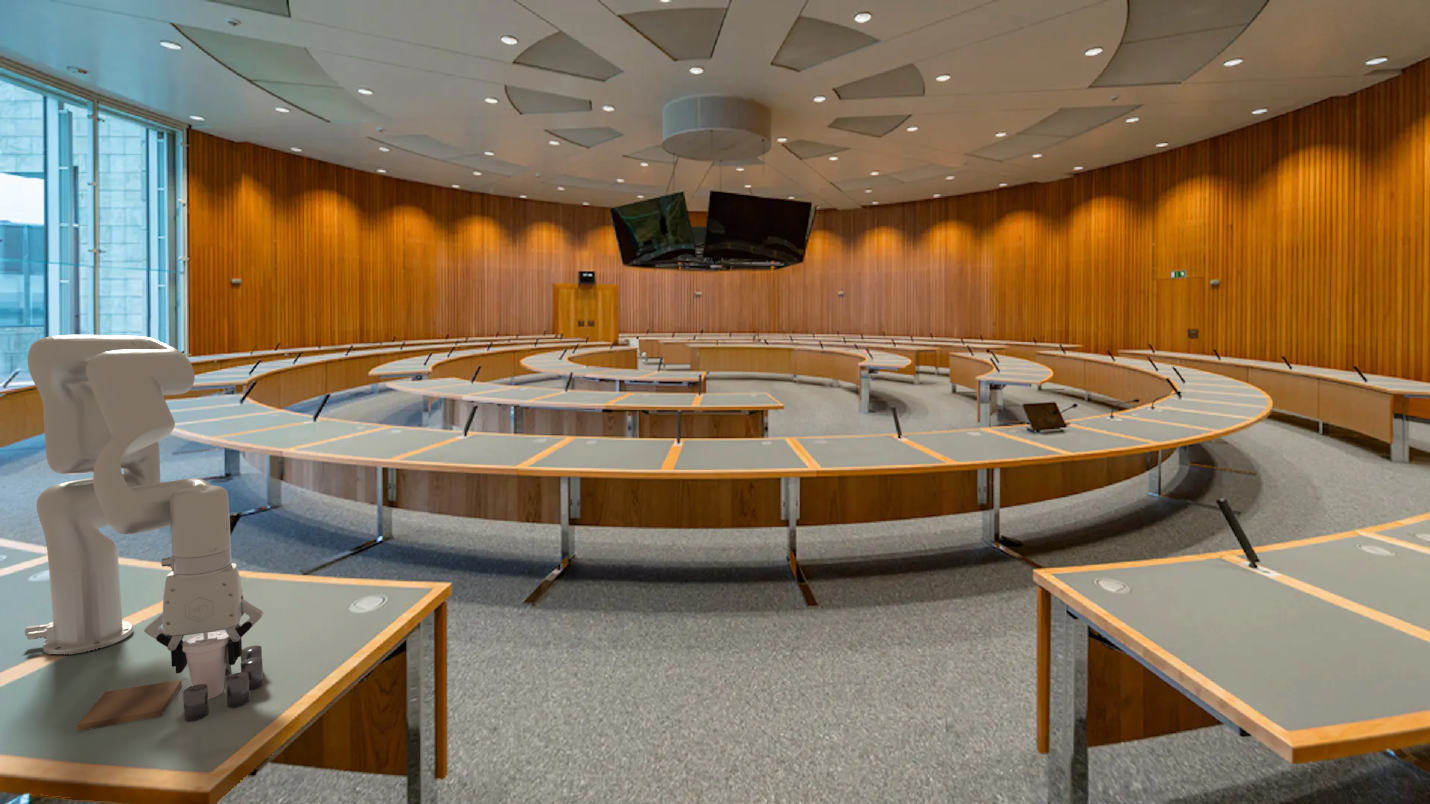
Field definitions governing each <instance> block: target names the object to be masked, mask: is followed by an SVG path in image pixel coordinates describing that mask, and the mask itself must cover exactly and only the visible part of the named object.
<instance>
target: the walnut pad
mask: <svg viewBox="0 0 1430 804" xmlns="http://www.w3.org/2000/svg"><path fill="white" fill-rule="evenodd" d="M182 682H183V681H182V679H177V680H171V681H169V680H168V681H163V682H156V683H151V684H145V685H137V686H131V687H126V688H120V689H113V690H106V691H104V692H103V694H102V695H101V696H100V697H99V698H98V699H97V700H96V702H95V703H94V704H93V705H92V706H91V708H90V709H89V710H88V711H87V712H86V714H85V715H84V716H83V717H82V718H81V719H80V720H79V722H78V723H77V724H76V732H80V731H79V730H81V731H87V730H92V729H97V728H103V727H104V728H105V727H108V726H114V725H115V726H116V725H121V724H126V723H132V722H137V721H144V720H149V719H155V718H161V717H162V716H163V714H164V713H165V711H166V710H167V708H168V707H169V705H170V704H171V702H172V701H173V699H174V698H175V696H176V694H177V693H178V691H179V690H180V688H182V687H181V686H182V684H183V683H182Z"/></svg>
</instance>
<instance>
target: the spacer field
mask: <svg viewBox="0 0 1430 804" xmlns="http://www.w3.org/2000/svg"><path fill="white" fill-rule="evenodd" d="M262 653H263V651H262V646H261V645H250V646H246V647H244V648H242V655H241V657H240V671H239V672H236V673H233V674H231V673H232V665H229V659H228V651H227V660H226V669H225V692H226V694H225V695H226V707H227V708H229V709H235V708H236V709H237V708H241V707H243V706H246V705H247V704H248V703H250V700H251V699H250V692H251V691H255V690H258V689H260V688H262V687H263V686H264V673H263V672H264V670H263V669H264V668H263V656H262V655H263V654H262ZM228 675H229V676H228ZM182 696H183V697H182V698H183V714H184V715H183V718H184V721H185V722H187V723H192V722H197V721H200V720H201V721H202V720H203V719H204V718H206V717H208V715H209V713H210V711H209V699H208V688H207V685H205V684H199V685H194V686H193V685H191V686H189V687H187V688H185V689H184V690H183V691H182Z"/></svg>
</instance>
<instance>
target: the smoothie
mask: <svg viewBox="0 0 1430 804" xmlns="http://www.w3.org/2000/svg"><path fill="white" fill-rule="evenodd" d="M229 641H230V637H229V635H228V634H227V632H226V631H225V630H220V631H213V632H206V633H198V634H194V635H192V636H189V637H188V638H186V639H185V640H183V644H182V646H183V648H182V651H183V652H185V654H186V659H187V667H188V670H189V671H188V672H189V675H190V679H191V684H192V685H191V686H194V685H199V684H205V685H207V688H208V700H211V699H213V698H216V697H219V696H220V695H221V694H223V693H224V686H225V680H226V676H225V669H226V660H227V651H228V643H229Z"/></svg>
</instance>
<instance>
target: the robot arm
mask: <svg viewBox="0 0 1430 804" xmlns="http://www.w3.org/2000/svg"><path fill="white" fill-rule="evenodd" d="M27 367H28V371H29V374H30V376H31V379H32V381H33V383H34V385H35V387H36V389H37V391H38V393H39V395H40V399H41V401H42V406H43V407H42V408H43V424H44V425H43V426H44V427H43V429H44V442H45V446H44V447H45V454H46V461H47V465H48V467H49V468H50V469H51V470H52V471H53V472H54V473H57V474H60V475H83V474H88V473H89V474H91V473H93V475H92V477H91V478H83V479H78V480H70V481H66V482H65V481H64V482H62V483H58V484H57V483H56V484H55V485H51V486H50V487H48V488H46V489H44V491H42V492H41V493H40V494H39V495H38V497H37V501H36V512H37V515H38V519H39V522H40V526H41V528H42V531H43V535H44V539H45V544H46V545H45V546H46V551H47V562H48V571H49V586H50V599H51V600H50V602H51V613H52V615H51V616H52V621H50V622H49V623H46V624H36V625H34V624H33V625H27V626H26V628H25V630H24V635H25V637H26V638H27V640H28V641H29V640H37V639H41V638H43V639H45V641H44V642H43V644H42V651H43V652H44V653H45V654H47V655H51V654H64V655H63V656H66V655H67V654H69V655H74V654H77V655H78V654H82V653H87V651H88V652H92V651H96V650H99V649H98V648H100V649H103V648H106V647H109V646H112V645H114V644H117V643H119V642H121V641H124V640H126V638H128V637H129V636H131V635H132V633H133V632H134V625H133V623H131V622H130V621H126V620H123V615H122V600H121V598H122V597H121V585H120V569H119V567H120V566H119V565H120V564H119V553H118V552H119V551H118V547H117V545H116V543H115V542H114V541H113V540H112V539H111V538H110V537H108V536H106V535H105V534H103V533H102V532H101V531H100V529H101V528H103V527H107V526H109V527H111V528H112V529H113V531H115V532H117V533H118V534H123V535H135V534H136V535H137V534H141V533H146V532H150V531H156V530H161V529H164V528H170V532H171V536H170V538H171V551H172V555H170V556H168V557H164V558H162V559H161V562H160V563H161V567H163V568H164V567H167V568H169V567H170V569H171V571H170V572H169V573H168V574H167V575H166V578H165V583H164V584H165V585H164V591H163V601H162V613H161V614H159V615H158V616H157V617H156V618H155V619H154V620H152V621H151V622H150V623H149V624H148V625H147V626H146V627H145V628H144V631H143V632H144V633H145V634H147V636H150V637H152V638H153V639H155V641H156V642H158V643H159V644H161V645H163V646H165V647H166V649H167V650H168V651H170V656H171V657H170V659H171V667H172V668H174V669H175V674H176V675H177V674H181V673H182V672H183V671H184V670H185V668H186V667H187V666H188V663H187V659H186V654H185V652H183V651H182V648H183V646H182V644H183V642H184V640H183V639H184V637H185V636H188V635H189V636H190V635H197V634H201V633H206V632H213V631H226V632H227V634H228V635H229V637H230V641H229V643H228V659H229V665H231V666H233V665H234V666H235V664H236V662H237V660H238V659H239V658H241V655H242V649H243V645H242V643H243V641H242V638H243V636H245V634H246V633H248V632H249V631H250V630H251V628H253V626H254V625H256V624H257V622H258V621H259V620H260V619H261V618H262V616H263V615H264V611H263V610H261V609H260V608H258V607H256V606H255V605H253V604H252V603H249V602H248V601H247V600H245V599H244V591H243V585H242V581H241V575H240V572H239V569H238V566H237V564H236V563H233V561H232V544H231V543H232V542H231V541H232V540H231V525H230V524H231V523H230V521H231V519H230V502H229V501H230V499H229V493H228V491H227V489H226V488H224V487H222V486H219V485H214V484H213V485H212V484H211V483H210V482H208V481H207V480H205V479H203V478H198V477H197V478H196V477H194V478H193V477H191V478H183V479H178V480H172V481H170V480H169V481H163V482H161V460H160V459H161V457H160V444H159V443H160V441H161V440H163V439H165V438H166V437H167V436H169V435H170V434H171V433H172V432H173V431H174V429H175V425H176V422H175V419H174V417H173V414H172V413H171V411H170V408H169V406H168V403H167V401H166V399H165V397H164V396H176V395H183V394H185V393H188V392H189V391H191V389H192V388H193V386H194V384H195V380H196V379H195V371H194V368H193V365H192V363H191V361H190V360H189V358H188V357H187V356H186V355H185V354H184V353H183V352H181V351H180V350H179V349H177V348H176V347H173V346H171V345H169V344H166V343H164V342H162V341H160V340H157V339H156V338H152V337H150V336H143V335H141V336H139V335H106V334H105V335H103V334H100V335H99V334H60V335H52V336H46V337H41V338H39V339H37V340H35V341H34V342H33V343H32V344H31V345H30V348H29V349H28V354H27ZM122 469H123V472H122ZM244 614H245V615H247V616H248V617H249V618H247V620H245V621H244V623H242V624H240V622H241V619H242V617H244ZM161 626H162V627H161ZM95 649H96V650H95ZM91 650H92V651H91ZM65 654H66V655H65ZM67 656H68V655H67Z"/></svg>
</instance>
